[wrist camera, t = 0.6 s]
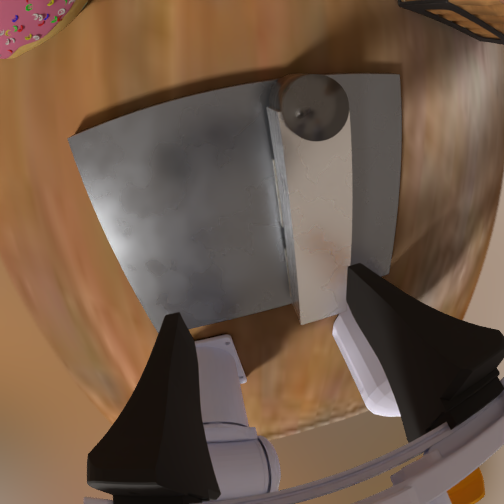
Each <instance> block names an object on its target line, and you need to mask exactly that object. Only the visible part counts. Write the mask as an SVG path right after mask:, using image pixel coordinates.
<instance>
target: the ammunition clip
mask: <svg viewBox="0 0 504 504" xmlns="http://www.w3.org/2000/svg"><path fill="white" fill-rule="evenodd" d="M398 5H399V7H402V8H405V9H408V10H411V11H414V12H417V13H419V14H422V15H425V16H427V17H430V18H432V19H435V20H437V21H439V22H442V23H444V24H446V25H449V26H451V27H453V28H455V29H457V30H459V31H461V32H463V33H465V34H467V35H469V36H471V37H473V38H475V39H477V40H479V41H484V42H491V43H497V44H503V45H504V0H398Z"/></svg>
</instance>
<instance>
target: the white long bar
mask: <svg viewBox="0 0 504 504" xmlns="http://www.w3.org/2000/svg"><path fill="white" fill-rule="evenodd" d="M267 113H268V120H269V126H270V132H271V139H272V146H273V152H274V159H275V166H276V173H277V180H278V188H279V195H280V203H281V210H282V218H283V226H284V234H285V242H286V251H287V259H288V268H289V277H290V286H291V296H292V305H293V307H294V310H295V312H296V314H297V317H298V319H299V322H300V324H301V325H303V324H307V323H310V322H313V321H317V320H320V319H323V318H327V317H330V316H333V315H336V314H339V313H342V312H345V311H347V302H346V290H347V269H348V266H350V263H351V242H352V147H351V127H350V112H349V101H348V97H347V94H346V92H345V91H344V89H343V88H342V86H341V85H340V84H339V83H338V82H337V81H335V80H334V79H332V78H330V77H328V76H325V75H319V74H305V73H293V74H289V75H286V76H284V77H282V78H280V79H279V80H278V81H277V82H276V83H275V84H274V86H273V87H272V89H271V91H270V95H269V106H268V107H267Z"/></svg>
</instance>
